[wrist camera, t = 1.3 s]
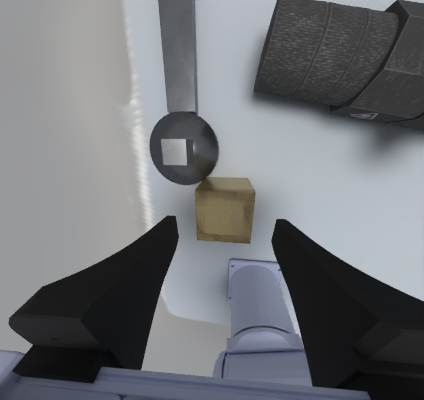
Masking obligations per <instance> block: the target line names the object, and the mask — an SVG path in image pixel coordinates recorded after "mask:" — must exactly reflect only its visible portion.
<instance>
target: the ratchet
mask: <svg viewBox="0 0 424 400" xmlns="http://www.w3.org/2000/svg"><path fill="white" fill-rule="evenodd" d="M158 3H159V14H160V26H161V38H162V50H163V61H164V73H165V85H166V96H167V108H168V112H169V113H170V114H168V115H166V116H164V117H163V118H162V119H161V120H159V122H158V123H157V124H156V125H155V127H154V129H153V131H152V134H151V138H150V153H151V157H152V160H153V162H154V165H155V166H156V168H157V169H158V171H159V172H160V173H161V174H162V175H163V176H164V177H165V178H167V179H168V180H170V181H172V182H174V183H177V184H182V185H190V184H195V183H198V182H200V181H202V180H203V179H205V178H206V177H207V176H208V175H209V174H210V173H211V171H212V170H213V168H214V167H215V165H216V163H217V160H218V155H219V145H218V140H217V137H216V135H215V133H214V131H213V129H212V128H211V127H210V125H209V124H208V123H207V122H206V121H205V120H203V119H202V118H201V117H199V116H197V115H195V114H198V106H197V67H196V27H195V0H158Z"/></svg>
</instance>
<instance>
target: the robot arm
mask: <svg viewBox="0 0 424 400" xmlns="http://www.w3.org/2000/svg"><path fill="white" fill-rule="evenodd" d="M178 239H179V235H178V228H177V222H176V216H166V217H165V218H164V219H163V220H161V221H160V222H159V223H158V224H157V225H155V226H154V227H153V228H152V229H150V230H149V231H148V232H147V233H145V234H144V235H143V236H141V237H140V238H138V239H137V240H136V241H134V242H133V243H132V244H130V245H129V246H127V247H125V248H124V249H122V250H121V251H119V252H117V253H115V254H113V255H112V256H110V257H108V258H106V259H104V260H102V261H101V262H99V263H97V264H95V265H92V266H90V267H88V268H86V269H84V270H82V271H80V272H77V273H75V274H73V275H71V276H68V277H66V278H63V279H61V280H58V281H56V282H53V283H51V284H48V285H46V286H43V287H42V288H41V289H40V290H39V291H37V292H36V293H35V294H34V296H32V297H31V298H30V299H29V300H28V301H27V302H26V303H25V304H24V305H23V306H22V307H21V308H19V309H18V310H17V311H16V312H15V313H14V314H13V315H12V316H11V317H10V318H9V325H10V327H11V329H13V330H14V331H15V332H16V333H17V334H19V335H20V336H22V337H23V338H24V339H26V340H27V341H28V342H30V343H31V344H33V346H32V347H31V348H30V350H29V351H28V352H27V353H26V354H24V353H21V352H17V351H7V350H0V400H424V301H422V300H419V299H417V298H415V297H412V296H410V295H408V294H406V293H404V292H401V291H399V290H397V289H395V288H393V287H391V286H389V285H387V284H385V283H383V282H381V281H379V280H377V279H375V278H373V277H371V276H369V275H367V274H365V273H364V272H362V271H360V270H358V269H356V268H354V267H353V266H351V265H349V264H348V263H346V262H344V261H343V260H341V259H339V258H338V257H336V256H335V255H333V254H331V253H330V252H328V251H327V250H326V249H324V248H323V247H321V246H320V245H318V244H317V243H316V242H314V241H313V240H312V239H310V238H309V237H308V236H306V235H305V234H304V233H302V232H301V231H300V230H299V229H297V228H296V227H295V226H294V225H292V224H291V223H290V222H289V221H287V220H286V219H277V220H276V224H275V228H274V232H273V236H272V240H271V242H272V246H273V250H274V254H275V257H276V259H277V262H278V263H272V262H259V261H247V260H235V259H232V260H230V262H229V280H228V298H227V302H228V304H231V338H227V351H222V352H221V353H220V354H219V357H218V359H217V361H216V363H215V366H214V370H213V377H205V376H195V375H184V374H173V373H162V372H152V371H141V368H142V363H143V359H144V354H145V350H146V345H147V341H148V337H149V333H150V329H151V325H152V320H153V316H154V313H155V309H156V305H157V301H158V298H159V294H160V291H161V288H162V284H163V281H164V279H165V276H166V273H167V271H168V268H169V266H170V263H171V261H172V258H173V256H174V253H175V250H176V247H177V243H178ZM232 265H233V266H232ZM282 274H283V277H284V279H285V282H286V284H287V287H288V290H289V293H290V296H291V299H292V303H293V306H294V310H295V313H296V317H297V321H298V325H299V328H300V333H301V337H302V341H303V345H304V348H303V345H302V343H301V340H300V337H299V335H298V334H296V333H295V330H294V327H293V324H292V321H291V318H290V315H289V313H288V310H287V307H286V304H285V301H284V298H283V295H282V292H281V289H280V281H281V276H282Z"/></svg>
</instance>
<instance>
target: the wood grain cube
mask: <svg viewBox="0 0 424 400" xmlns="http://www.w3.org/2000/svg"><path fill="white" fill-rule="evenodd" d="M195 196H196V222H197V240H204V241H218V242H233V243H247V244H250V239H251V230H252V220H253V211H254V201H255V191H254V189H253V187H252V185H251V183H250V181H249V179H248V178H220V177H206V178H205V179H203V181H202V182H201V183H200V185H199V186H198V187H197V189H196V190H195Z"/></svg>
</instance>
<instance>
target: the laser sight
mask: <svg viewBox="0 0 424 400" xmlns="http://www.w3.org/2000/svg"><path fill="white" fill-rule="evenodd" d="M254 91H256V92H263V93H268V94H274V95H279V96H284V97H289V98H295V99H301V100H306V101H310V102H315V103H322V104H328V105H329V109H330V113H335V114H340V115H346V116H351V117H356V118H362V119H367V120H372V121H378V122H383V123H388V124H394V125H399V126H404V127H410V128H415V129H420V130H424V3H417V2H411V1H405V0H397V1H395V2H394V3H393V4H392V5H391V6H390V7H388V8H387V9H386V10H385V11H377V10H371V9H368V8H361V7H352V6H347V5H340V4H336V3H332V2H329V3H327V2H326V1H316V0H277V3H276V6H275V9H274V12H273V15H272V19H271V22H270V26H269V29H268V33H267V36H266V40H265V44H264V48H263V51H262V55H261V59H260V63H259V68H258V72H257V76H256V81H255V86H254Z"/></svg>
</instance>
